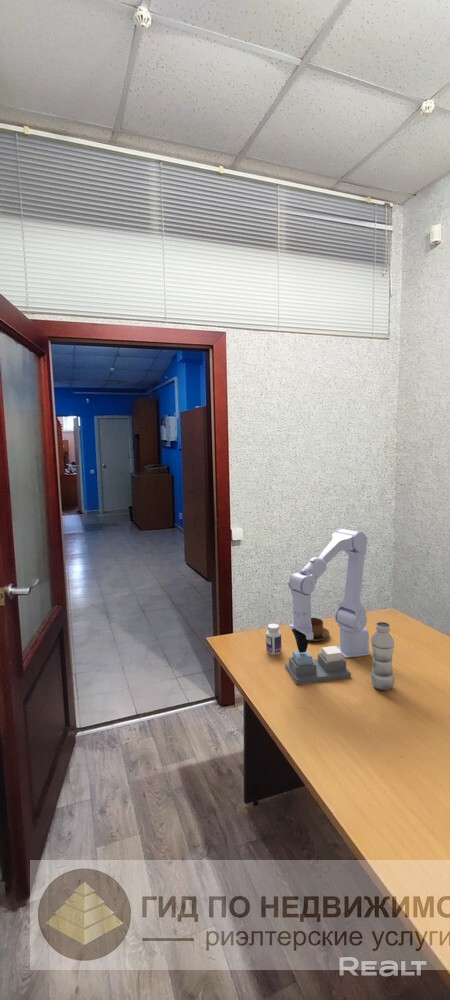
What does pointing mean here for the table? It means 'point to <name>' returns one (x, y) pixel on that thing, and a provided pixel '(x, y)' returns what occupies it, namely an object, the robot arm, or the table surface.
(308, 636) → the robot arm
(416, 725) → the table surface
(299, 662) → the blue key
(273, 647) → the pill bottle
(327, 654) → the white key
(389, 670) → the plastic bottle
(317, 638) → the cup and saucer
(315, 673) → the key panel
